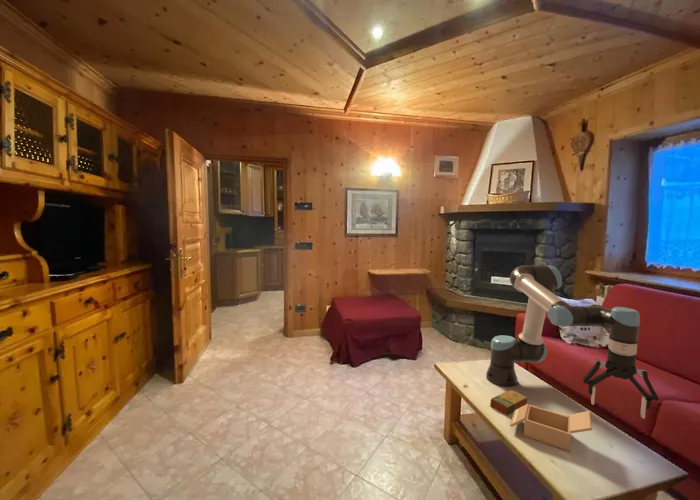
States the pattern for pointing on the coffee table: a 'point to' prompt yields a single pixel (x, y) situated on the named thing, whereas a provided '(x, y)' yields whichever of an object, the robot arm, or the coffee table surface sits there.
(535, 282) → the robot arm
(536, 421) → the shipping box
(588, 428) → the flap
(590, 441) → the coffee table surface
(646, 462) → the coffee table surface
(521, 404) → the carton
